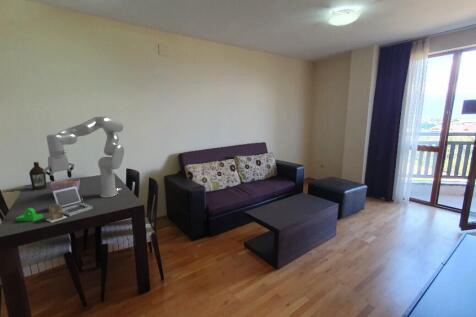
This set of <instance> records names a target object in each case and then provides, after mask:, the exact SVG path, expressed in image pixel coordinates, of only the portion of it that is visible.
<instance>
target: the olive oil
mask: <svg viewBox="0 0 476 317" xmlns="http://www.w3.org/2000/svg"><path fill="white" fill-rule="evenodd" d="M43 169H44V168H43V167H41V166H40V164H39V161H34V162H33V167H32V168H31V169H30V170H29V178H30V183H31V187H32V191H34V190H37V191H43V190H46V189H47V188H48V187H47V176H46V175H47V174H46V173H45V172H44V171H43ZM42 189H43V190H42Z"/></svg>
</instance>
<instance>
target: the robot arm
mask: <svg viewBox="0 0 476 317" xmlns="http://www.w3.org/2000/svg"><path fill="white" fill-rule="evenodd" d="M99 129H103V131H104V132H105V134H106V141H105V144H104V147H103V153H104V155H106V156H103V157H100V158H99V159H98V161H97V165H98V168H99V173H100V181H101V182H100V183H101V190H102V193H101V194H100V197H101V198H111V197H116V196H118V195H119V192H120V191H122V188H121V187H119V188H117V187H116V179H115V176H116V174H115V172H114V170H119V168H120V167H121V166H122V163H123V159H124V157H125V156H124V155H125V148H124V146H123V145H122V144H119V140H120V139H119V138H120V137H119V135H118V133H121V132H122V131H123V130H124V125H123V124H122V122H120V121H118V120H116V119H114V118H111V117H108V116H94V117H92V118H90V119H88V120H86V121H84V122H82V123H80V124H77V125H75V126H74V125H73V126H71V127H68V128H66V129H63V130H61V131H59V132H57V133H55V134H48V135H46V142H47V148H48V153H49V154H48V155H49V156H47V166H46V167H45V168H43V171H44V172H45V173H46V175H48V176H49V180H50V181H51V182H54V181H55V176H54V173H56V172H62V171H66V174H67V175H66V176H67V178H68V179H72V172H73V170H74V169H75V168H74V167H75V163H70V162H69V159H68V157H67V154H66V153H67V152H68V151H67V150H65V149H64V146H67V145H69V146H70V145H74V144H76V143H77V142H78V137H83V136H88V135H90V134H92V133H94V132H95V131H98V130H99ZM48 171H49V172H48ZM117 194H118V195H117ZM115 195H116V196H115Z"/></svg>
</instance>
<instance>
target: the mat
mask: <svg viewBox="0 0 476 317" xmlns="http://www.w3.org/2000/svg"><path fill="white" fill-rule="evenodd" d="M66 218H68V217H67V215H66V216H65V214H63V218H60V219H56V220H52V219H50V217H49V218H46V219H45V220H46V221H48V222H49V223H51V224H52V223H54V222H57V221H58V222H59V221H60V220H64V219H66Z"/></svg>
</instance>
